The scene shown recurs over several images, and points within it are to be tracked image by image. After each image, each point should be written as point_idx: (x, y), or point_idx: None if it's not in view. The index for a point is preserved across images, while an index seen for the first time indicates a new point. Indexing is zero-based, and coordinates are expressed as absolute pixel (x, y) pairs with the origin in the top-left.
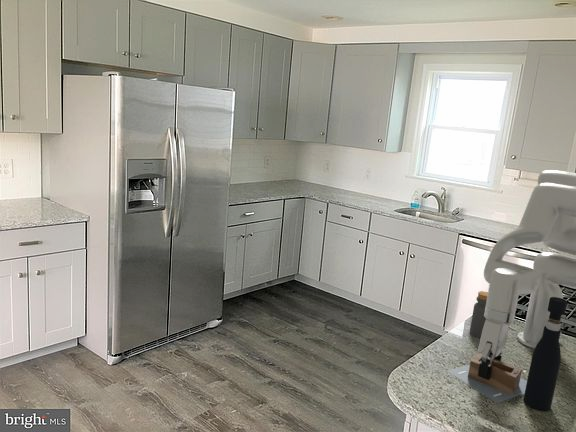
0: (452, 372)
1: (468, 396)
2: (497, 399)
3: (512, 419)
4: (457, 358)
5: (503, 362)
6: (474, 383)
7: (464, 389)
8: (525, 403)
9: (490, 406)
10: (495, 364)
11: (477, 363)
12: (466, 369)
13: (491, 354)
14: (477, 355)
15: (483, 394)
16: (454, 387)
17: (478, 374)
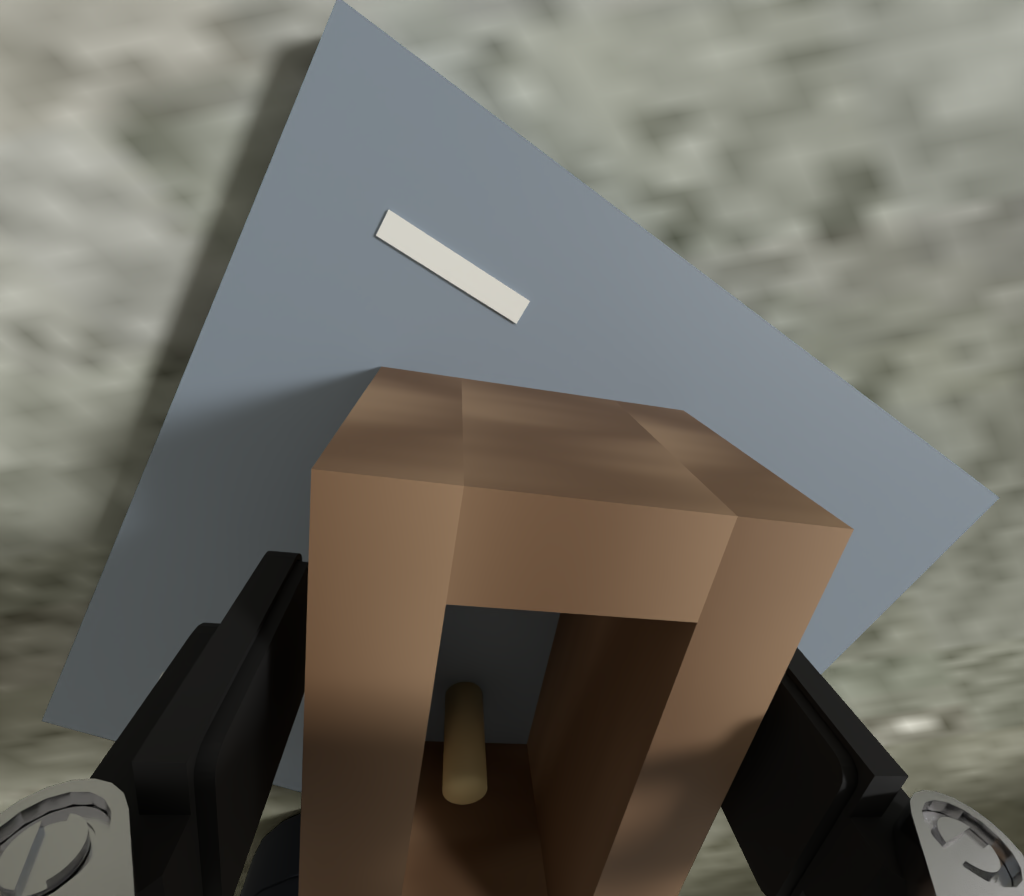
0: (349, 121)
1: (21, 440)
2: (127, 713)
3: (9, 796)
4: (968, 111)
5: (678, 877)
6: (274, 472)
7: (146, 368)
8: (265, 868)
9: (43, 646)
10: (609, 770)
11: (308, 616)
12: (596, 310)
13: (822, 782)
14: (725, 540)
15: (92, 599)
16: (74, 239)
17: (262, 566)
